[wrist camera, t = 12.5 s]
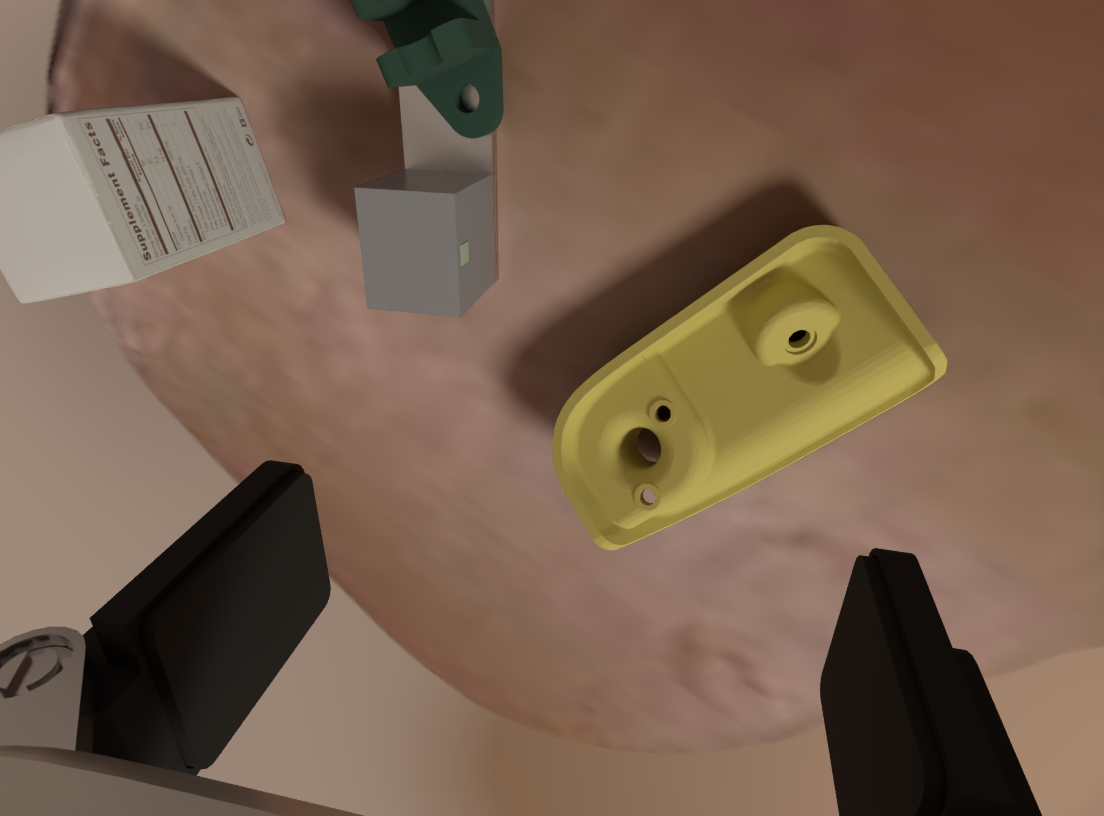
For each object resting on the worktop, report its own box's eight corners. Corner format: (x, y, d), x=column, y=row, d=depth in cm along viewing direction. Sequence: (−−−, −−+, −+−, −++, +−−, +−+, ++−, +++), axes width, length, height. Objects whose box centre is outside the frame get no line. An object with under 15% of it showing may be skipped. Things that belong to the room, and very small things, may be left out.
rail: (488, -342, 27) (481, -353, 27) (498, 278, 40) (494, 282, 39) (373, -333, 28) (365, -342, 28) (418, 271, 40) (413, 275, 40)
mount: (526, 118, 34) (499, 127, 30) (451, 149, 36) (415, 162, 32) (437, -128, 30) (390, -158, 26) (357, -80, 32) (301, -102, 28)
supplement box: (193, 243, 43) (14, 307, 32) (140, 120, 40) (-78, 144, 29) (291, 225, 41) (135, 286, 30) (244, 93, 38) (51, 108, 27)
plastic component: (834, 202, 32) (963, 379, 30) (838, 232, 39) (944, 378, 37) (523, 421, 39) (611, 573, 38) (572, 414, 46) (649, 543, 44)
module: (493, 174, 36) (455, 193, 31) (495, 282, 39) (461, 317, 34) (404, 169, 37) (352, 187, 32) (412, 275, 40) (366, 308, 35)
